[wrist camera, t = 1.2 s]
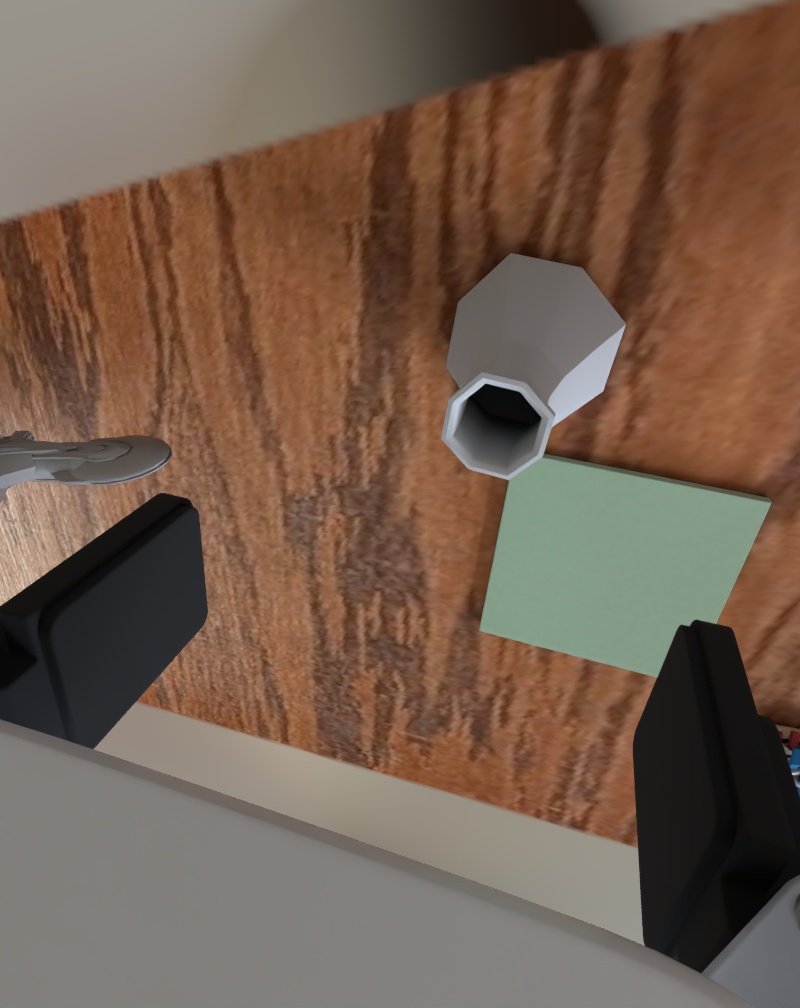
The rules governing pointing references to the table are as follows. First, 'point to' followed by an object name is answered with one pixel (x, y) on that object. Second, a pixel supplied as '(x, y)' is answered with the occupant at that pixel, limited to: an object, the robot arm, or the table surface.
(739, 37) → the table surface
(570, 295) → the flask
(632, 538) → the coaster
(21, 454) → the spaceship
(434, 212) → the table surface
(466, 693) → the table surface
